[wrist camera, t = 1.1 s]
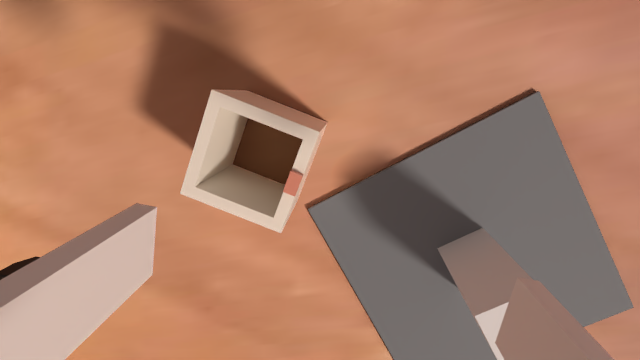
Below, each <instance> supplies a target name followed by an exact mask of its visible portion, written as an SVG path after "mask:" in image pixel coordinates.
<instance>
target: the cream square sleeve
mask: <svg viewBox="0 0 640 360" xmlns="http://www.w3.org/2000/svg"><path fill="white" fill-rule="evenodd" d="M248 118H249V119H252V120H254V121H257V122H260V123H262V124H265V125H267V126H270V127H272V128H275V129H277V130H280V131H282V132H285V133H287V134H290V135H292V136H295V137H297V138H300V139H303V141H302V143H301V146H300V149H299V151H298V154H297V157H296V159H295V162H294V165H293V167H292V170H291V171H290V174H289V176H288V179H287V182H286V184H285V185H284V184H282V183H279V182H276V181H274V180H271V179H269V178H266V177H264V176H261V175H259V174H256V173H254V172H251V171H249V170H246V169H243V168H241V167H238V166H236V165H233V162H234V159H235V156H236V153H237V150H238V147H239V144H240V141H241V138H242V135H243V132H244V129H245V126H246V123H247V120H248ZM327 123H328V122H326V121H323V120H321V119H318V118H316V117H313V116H311V115H308V114H306V113H303V112H301V111H298V110H296V109H293V108H290V107H288V106H285V105H283V104H280V103H278V102H275V101H273V100H270V99H268V98H265V97H263V96H260V95H258V94H255V93H253V92H250V91H248V90H215V89H212V90H211V93H210V96H209V100H208V103H207V106H206V110H205V113H204V116H203V119H202V123H201V126H200V129H199V133H198V136H197V139H196V142H195V146H194V149H193V152H192V156H191V159H190V162H189V165H188V169H187V172H186V175H185V179H184V182H183V185H182V189H181V192H180V194H182V195H185V196H187V197H190V198H192V199H195V200H198V201H200V202H203V203H205V204H208V205H210V206H213V207H215V208H218V209H220V210H223V211H226V212H228V213H231V214H233V215H236V216H238V217H241V218H243V219H246V220H248V221H251V222H254V223H256V224H259V225H261V226H264V227H266V228H269V229H271V230H274V231H276V232H279V233H281V232H282V230H283V228H284V226H285V224H286V222H287V220H288V218H289V216H290V214H291V212H292V210H293V208H294V206H295V204H296V202H297V200H298V198H299V196H300V193H301V190H302V188H303V185H304V183H305V180H306V177H307V175H308V172H309V170H310V167H311V164H312V162H313V159H314V157H315V154H316V152H317V149H318V146H319V144H320V141H321V139H322V136H323V133H324V131H325V128H326V126H327Z"/></svg>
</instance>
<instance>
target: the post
mask: <svg viewBox="0 0 640 360" xmlns="http://www.w3.org/2000/svg"><path fill="white" fill-rule="evenodd" d="M308 211H309V212H310V214H311V216H312V218H313V219H314V221H315V223H316V225H317V226H318V228H319V230H320V232H321V233H322V235H323V237H324V238H325V240H326V242H327V244H328V245H329V247H330V249H331V251H332V252H333V254H334V256H335V258H336V259H337V261H338V263H339V265H340V266H341V268H342V270H343V272H344V273H345V275H346V277H347V279H348V280H349V282H350V284H351V286H352V287H353V289H354V291H355V293H356V294H357V296H358V298H359V300H360V301H361V303H362V305H363V306H364V308H365V310H366V312H367V313H368V315H369V317H370V319H371V320H372V322H373V324H374V326H375V327H376V329H377V331H378V333H379V334H380V336H381V338H382V340H383V341H384V343H385V345H386V347H387V348H388V350H389V352H390V354H391V355H392V357H393V359H394V360H504V358H503V356H502V354H501V353H500V351H499V349H498V347H497V345H496V344H495V341H496V338H497V335H498V333H499V330H500V327H501V324H502V321H503V318H504V315H505V312H506V309H507V306H508V303H509V300H510V297H511V294H512V292H513V289H514V286H515V283H516V280H517V277H521V278H526V279H531V280H537V281H540V282H541V283H542V284H543V285H544V287H545V288H546V289H547V290H548V291H549V292H550V293H551V294H552V295H553V296H554V297H555V298H556V299H557V300H558V301H559V302H560V303H561V304H562V305H563V306H564V308H565V309H566V310H567V311H568V312H569V313H570V314H571V315H572V316H573V317H574V318H575V319H576V320H577V321H578V322H579V323H580V324H581V325H582V326H583V327H585V326H588V325H590V324H593V323H595V322H598V321H600V320H603V319H605V318H608V317H611V316H613V315H616V314H618V313H621V312H623V311H626V310H628V309H631V308H634V307H633V305H632V302H631V300H630V298H629V296H628V293H627V291H626V289H625V286H624V284H623V282H622V280H621V277H620V275H619V273H618V270H617V268H616V266H615V264H614V261H613V259H612V257H611V254H610V252H609V250H608V248H607V245H606V243H605V241H604V238H603V236H602V234H601V232H600V229H599V227H598V225H597V222H596V220H595V218H594V215H593V213H592V211H591V209H590V206H589V204H588V202H587V199H586V197H585V195H584V193H583V190H582V188H581V186H580V183H579V181H578V179H577V177H576V174H575V172H574V170H573V167H572V165H571V163H570V161H569V158H568V156H567V154H566V151H565V149H564V147H563V145H562V142H561V140H560V138H559V135H558V133H557V131H556V129H555V126H554V124H553V122H552V119H551V117H550V115H549V113H548V110H547V108H546V106H545V103H544V101H543V99H542V97H541V94H540V92H539V91H537V92H535V93H533V94H531V95H529V96H527V97H525V98H523V99H521V100H519V101H517V102H515V103H513V104H511V105H509V106H507V107H505V108H503V109H501V110H499V111H497V112H495V113H493V114H492V115H490V116H488V117H486V118H484V119H482V120H480V121H478V122H476V123H474V124H472V125H470V126H468V127H466V128H464V129H462V130H460V131H458V132H456V133H454V134H452V135H450V136H449V137H447V138H445V139H443V140H441V141H439V142H437V143H435V144H433V145H431V146H429V147H427V148H425V149H423V150H421V151H419V152H417V153H415V154H413V155H411V156H409V157H407V158H406V159H404V160H402V161H400V162H398V163H396V164H394V165H392V166H390V167H388V168H386V169H384V170H382V171H380V172H378V173H376V174H374V175H372V176H370V177H368V178H366V179H364V180H363V181H361V182H359V183H357V184H355V185H353V186H351V187H349V188H347V189H345V190H343V191H341V192H339V193H337V194H335V195H333V196H331V197H329V198H327V199H325V200H323V201H321V202H319V203H318V204H316V205H314V206H312V207H310V208H308Z"/></svg>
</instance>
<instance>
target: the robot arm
mask: <svg viewBox="0 0 640 360" xmlns="http://www.w3.org/2000/svg"><path fill="white" fill-rule="evenodd" d="M156 214H157V207H153V206H148V205H143V204H138V203H136V204H134V205H133V206H131V207H129V208H127V209H125V210H124V211H122V212H120V213H118V214H117V215H115V216H113V217H111V218H110V219H108V220H106V221H104V222H102V223H101V224H99V225H97V226H95V227H94V228H92V229H90V230H88V231H86V232H85V233H83V234H81V235H79V236H78V237H76V238H74V239H72V240H71V241H69V242H67V243H65V244H63V245H62V246H60V247H58V248H56V249H55V250H53V251H51V252H49V253H47V254H46V255H44V256H42V257H33V258H30V259H27V260H23V261H20V262H17V263H14V264H12V265H10V266H8V267H6V268H4V269H3V270H1V271H0V360H65V359H66V358H67V357H68V356H69V355H70V354H71V353H72V352H73V351H74V350H75V349H76V348H77V347H78V346H79V345H80V344H81V343H82V342H83V341H85V340H86V339H87V338H88V337H89V336H90V335H91V334H92V333H93V332H94V331H95V330H96V329H97V328H98V327H99V326H100V325H101V324H102V323H103V322H104V321H105V320H106V319H107V318H108V317H109V316H110V315H111V314H112V313H113V312H114V311H115V310H116V309H118V308H119V307H120V306H121V305H122V304H123V303H124V302H125V301H126V300H127V299H128V298H129V297H130V296H131V295H132V294H133V293H134V292H135V291H136V290H137V289H138V288H139V287H140V286H141V285H142V284H143V283H144V282H145V281H146V280H147V279H148V278H149V277H151V276H152V274H153V259H154V244H155V229H156ZM495 344H496V345H497V347H498V349H499V351H500V353H501V354H502V356H503V358H504V360H614V359H613V358H612V357H611V356H610V355H609V354H608V353H607V352H606V351H605V349H604V348H603V347H602V346H601V345H600V344H599V343H598V342H597V341H596V340H595V339H594V338H593V337H592V336H591V335H590V334H589V333H588V332H587V331H586V330H585V328H584V327H583V326H582V325H581V324H580V323H579V322H578V321H577V320H576V319H575V318H574V317H573V316H572V315H571V314H570V313H569V312H568V311H567V310H566V309H565V308H564V306H563V305H562V304H561V303H560V302H559V301H558V300H557V299H556V298H555V297H554V296H553V295H552V294H551V293H550V292H549V291H548V290H547V289H546V288H545V287H544V285H543V284H542V283H541V282H540V281H537V280H531V279H526V278H521V277H517V280H516V283H515V286H514V289H513V292H512V294H511V297H510V300H509V303H508V306H507V309H506V312H505V315H504V318H503V321H502V324H501V327H500V330H499V333H498V335H497V338H496V341H495Z"/></svg>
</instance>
